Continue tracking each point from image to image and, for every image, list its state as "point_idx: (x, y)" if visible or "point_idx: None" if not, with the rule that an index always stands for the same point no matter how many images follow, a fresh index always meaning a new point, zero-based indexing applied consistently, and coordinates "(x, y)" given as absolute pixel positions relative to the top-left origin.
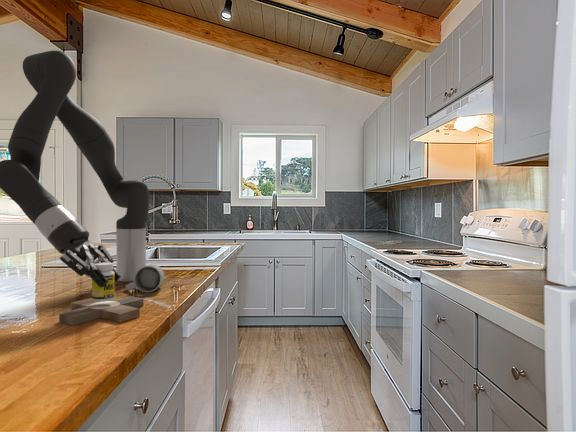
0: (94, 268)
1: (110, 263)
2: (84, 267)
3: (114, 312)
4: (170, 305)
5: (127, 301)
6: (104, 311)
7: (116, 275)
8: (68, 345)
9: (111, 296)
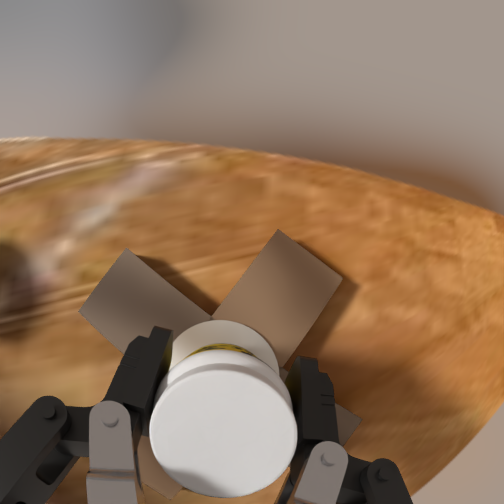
0: (337, 449)
1: (208, 391)
2: (395, 478)
3: (323, 305)
4: (147, 164)
5: (163, 302)
6: (292, 351)
7: (166, 348)
8: (468, 339)
9: (241, 347)
